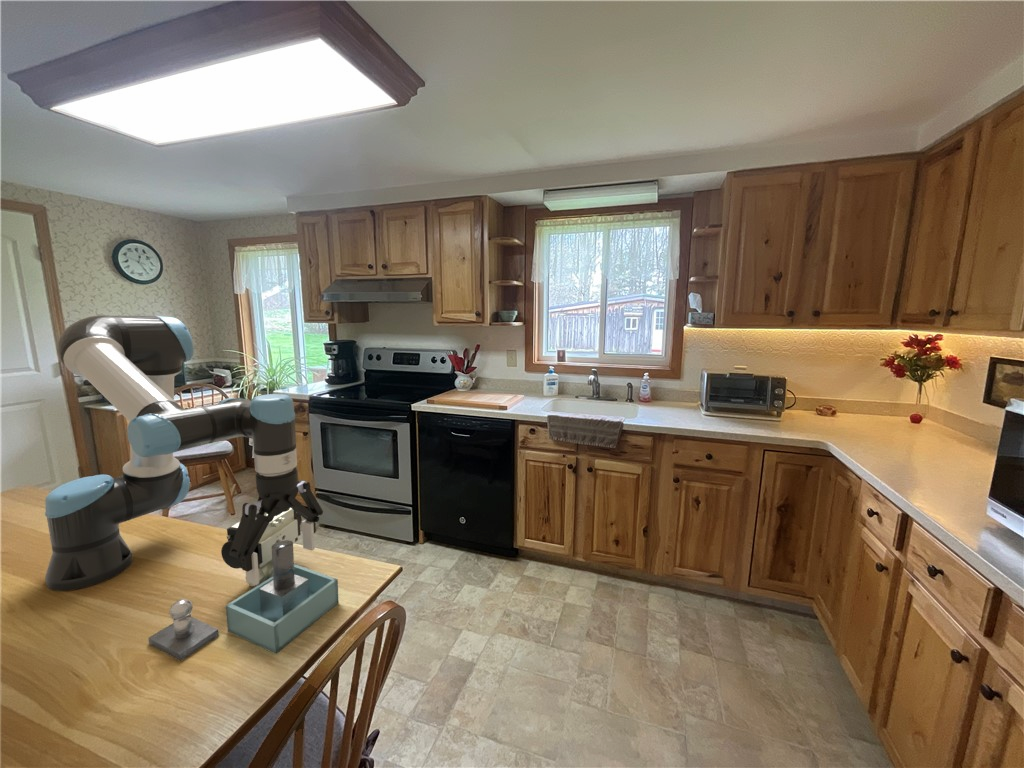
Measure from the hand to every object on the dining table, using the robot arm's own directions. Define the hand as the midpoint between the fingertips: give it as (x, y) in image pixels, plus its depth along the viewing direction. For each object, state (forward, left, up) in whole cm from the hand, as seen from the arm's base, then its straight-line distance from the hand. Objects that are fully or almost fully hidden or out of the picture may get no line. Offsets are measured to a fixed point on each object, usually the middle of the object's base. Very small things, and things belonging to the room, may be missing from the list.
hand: (282, 564), depth 88 cm
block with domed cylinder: (0, 0, -12) cm, 12 cm away
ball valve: (-16, +8, -13) cm, 22 cm away
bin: (0, 0, -12) cm, 12 cm away
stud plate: (-13, -13, -12) cm, 22 cm away
